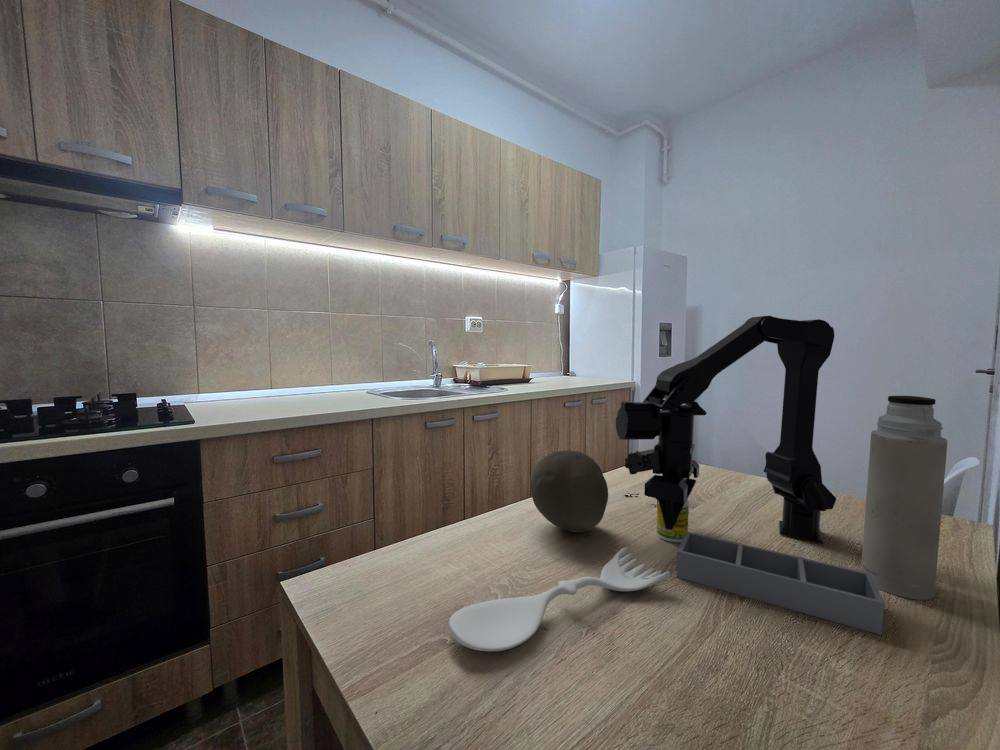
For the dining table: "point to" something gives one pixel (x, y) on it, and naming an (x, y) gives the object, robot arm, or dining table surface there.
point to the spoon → (538, 606)
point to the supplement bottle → (679, 527)
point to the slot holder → (783, 580)
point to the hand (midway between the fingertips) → (672, 523)
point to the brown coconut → (569, 490)
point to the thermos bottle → (905, 498)
